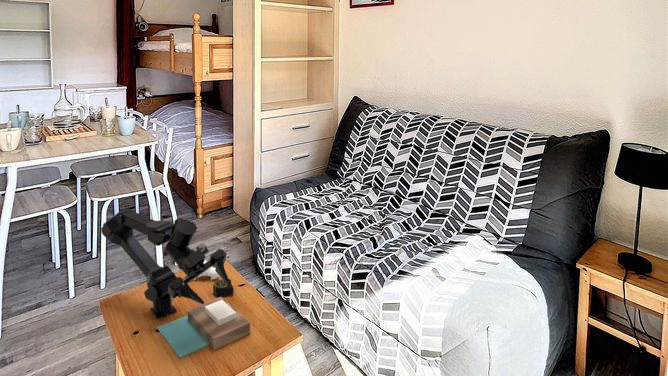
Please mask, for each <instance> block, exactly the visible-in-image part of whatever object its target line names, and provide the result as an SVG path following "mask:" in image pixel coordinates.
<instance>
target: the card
mask: <svg viewBox="0 0 668 376" xmlns="http://www.w3.org/2000/svg"><path fill="white" fill-rule="evenodd" d="M205 312H206V313H207V314H208V315H209V316H210V317H211V318H212V319H213V320H214V321H215V322H216V323H217V324H218V325H222V324H224V323H226V322H229V321H231V320H233V319H236V318H237V317H236V312H235V311H234V310H233V309H232V308H231V307H230V306H229V305H227V304H226V303H225V302H224V301H223V300H220V301H217V302H215V303H212V304H210V305H207V306H205Z"/></svg>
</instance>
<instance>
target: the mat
mask: <svg viewBox="0 0 668 376" xmlns="http://www.w3.org/2000/svg"><path fill="white" fill-rule="evenodd" d="M156 328H157V330H158V331H159V333H160V334H161V336H162V337H163V338H164V339H165V341H166V342H167V344H168V345H169V346H170V347H171V349H172V350H173V351H174V353H175V354H176V355H177V357H178V358H179V359H182V358H184V357H186V356H188V355H191V354H193V353H195V352H198V351H199V350H202V349H204V348H206V347H209V346H210V343H209V342H208V341H207V340H206V339H205V338H204V337H203V335H202V334H201V333H200V332H199V331H198V330H197V329H196V328H195V327H194V325H193V324H192V323H191V322H190V321H189V320H188V315H185V316H183V317H180V318H177V319H175V320H173V321H170V322H167V323H165V324H161V325H160V326H157V327H156Z"/></svg>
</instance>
